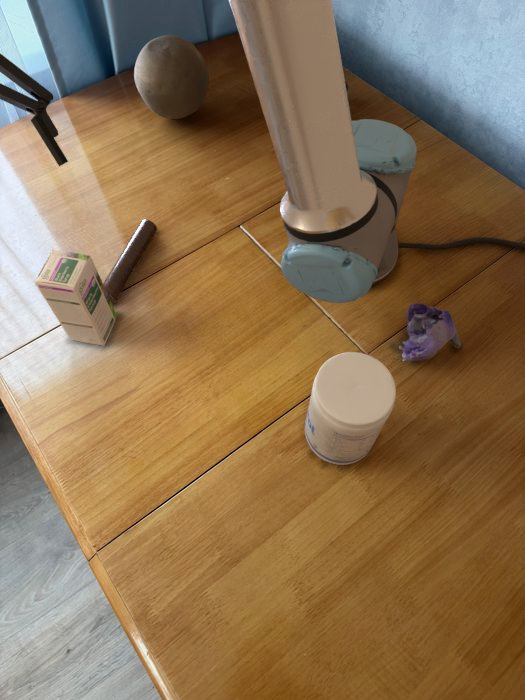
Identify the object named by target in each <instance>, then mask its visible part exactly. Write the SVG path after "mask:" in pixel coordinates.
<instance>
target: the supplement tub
mask: <svg viewBox="0 0 525 700" xmlns="http://www.w3.org/2000/svg"><path fill="white" fill-rule="evenodd" d="M395 382H396V381H395V379H394V377H393V374H392V373H391V372H390V370H389V369H388V368H387V367H386V365H385V364H383V363H382V362H381V361H380V360H378V359H377V358H376V357H373V356H371V355H370V354H366V353H363V352H355V351H347V352H342V353H339V354H338V353H337V354H335V355H333V356H332V357H330V358H328V359H327V360H326V361H325V362H324V363H322V365H321V366H320V367H319V369H318V371H317V374H316V375H315V377H314V380H313V384H312V388H311V391H310V392H311V393H310V397H309V402H308V407H307V412H306V416H305V417H306V418H305V423H304V435H305V438H306V441H307V444H308V446H309V448H310V449H311V451H312V452H313V453H314V454H315V455H316V456H317V457H318V458H320V459H321V460H323V461H325V462H327V463H329V464H333V465H337V466H338V465H339V466H345V465H352V464H355V463H356V462H359V461H360V460H362V459H363V458H365V457H366V456H367V455H368V454H369V452H370V451H371V449H372V447H373V446H374V444H375V443H376V440H377V438H378V437H379V435H380V434H381V431H382V430H383V428H384V426H385V424H386V422H387V420H388V418H389V417H390V415H391V413H392V412H393V409H394V406H395V401H396V398H397V397H396V396H397V387H396V383H395Z"/></svg>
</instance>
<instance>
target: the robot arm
mask: <svg viewBox="0 0 525 700" xmlns="http://www.w3.org/2000/svg"><path fill="white" fill-rule="evenodd" d="M228 2H229V6H230V9H231V13H232V15H233V20H234V21H235V25H236V28H237V31H238V36H239V39H240V41H241V42H240V43H241V45H242V49H243V50H244V55H245V58H246V62H247V65H248V68H249V70H250V71H249V72H250V74H251V77H252V78H251V79H252V80H253V85H254V87H255V90H256V94H257V97H258V100H259V103H260V107H261V111H262V114H263V116H264V120H265V123H266V126H267V129H268V133H269V136H270V140H271V142H272V146H273V149H274V152H275V156H276V159H277V162H278V166H279V170H280V172H281V175H282V179H283V182H284V186H285V189H286V191H285V192H284V194H283V196H282V197H281V200H280V205H279V213H280V216H281V219H282V222H283V225H284V229H285V232H286V235H287V239H288V245H287V247H286V248H285V249H284V250H283V252H282V254H281V255H282V257H281V261H280V269H281V273H282V275H283V277H284V278H285V280H286V281H287V282H288V283H289V284H290V285H291V286H292V287H293V288H294V289H295V290H297V291H298V292H300V293H302V294H304V295H306V296H308V297H310V298H312V299H316V300H318V301H322V302H327V303H333V304H335V303H336V304H344V303H351V302H355V301H357V300H359V299H360V298H363V297H364V296H366V295H367V294H368V292H369V291H370V289H371V287H374V286H377V285H379V284H381V283H382V282H384V281H385V280H386V279H388V277H390V275H391V274H392V273H393V271H394V269H395V266H396V264H397V261H398V258H399V249H410V250H411V249H412V250H427V251H439V250H448V249H453V248H457V247H461V246H467V245H472V244H493V245H494V244H495V245H500V246H505V247H511V248H515V249H520V250H525V243H524V242H523V243H522V242H517V241H513V240H508V239H504V238H496V237H485V236H482V237H481V236H480V237H479V236H478V237H469V238H463V239H459V240H455V241H450V242H446V243H436V244H434V243H432V244H431V243H421V242H399V241H398V235H397V234H398V233H397V228H396V226H397V221H398V218H399V216H400V212H401V208H402V205H403V202H404V198H405V195H406V192H407V188H408V185H409V183H410V178H411V175H412V172H413V170H414V169H415V167H416V157H417V152H418V149H417V144H416V142H415V140H414V138H413V137H412V136H411V134H409V133H408V132H406V130H404V129H403V128H401V127H400V126H399V125H396V124H393V123H391V122H387V121H384V120H379V119H372V118H362V119H361V118H360V119H357V120H352V114H351V109H350V104H349V97H348V94H347V91H346V85H345V82H346V80H345V73H344V67H343V62H342V56H341V50H340V44H339V37H338V32H337V25H336V21H335V14H334V9H333V3H332V0H228ZM0 73H1V74H2V75H4V76H5V77H6V78H8V80H10V81H11V82H13V83H14V84H15V85H17V87H19V88H20V89H22V90H23V91H24V92H26V93H27V94H28V95H30V96H28V95H26V94H24V93H21V92H20V91H17V90H16V89H13V88H11V87H9V86H7V85H5V84H3V83H1V82H0V100H1V101H3V102H5V103H7V104H9V105H12V106H14V107H16V108H18V109H21V110H22V111H25V112H27V113H29V114H31V115H33V117H32V118H31V119H30V122H31V124H32V125H33V127H34V128H35V130H36V132H37V133H38V135H39V136H40V139H42V141H43V143H44V145H45V146H46V148H47V149H48V151H49V152H50V154H51V156H52V157H53V159H54V160H55V162H56V164H57V166H58V167H61V166H63V165H65V164H67V163H68V162H69V160H68V159H67V157H66V155H65V154H64V152H63V151H62V150H63V149H61V147H60V145H59V144H58V142H57V140H56V139H55V138H57V137H58V136H59V130H58V128H57V127H56V125H55V124H54V122H53V120H52V119H51V117H50V115H49V114H48V112H47V111H48V110H47V108H48V106H49V105H50V104H51V103H52V101H53V100H54V95H53V93H52V92H51V91H49V90H48V89H47V88H45V86H43V85H42V84H41V83H39V82H38V81H37V80H36V79H34V78H33V77H31V75H29V74H28V73H27V72H25V71H24V70H22V68H20V67H19V66H17V65H16V64H15V63H13V62H12V61H11V60H10V59H9V58H7V57H6V56H4V55H3V54H2V53H1V52H0Z"/></svg>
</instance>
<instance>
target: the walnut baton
mask: <svg viewBox="0 0 525 700" xmlns="http://www.w3.org/2000/svg"><path fill="white" fill-rule="evenodd" d="M157 232H158V226H157V225H156V223H155V222H153V221H152V220H150V219H142V220H141V221H140V223H139V224H138V226H137V228H136V229H135V231H134V232H133V234H132V236H131V237H130V239H129V240H128V242H127V244H126V246H125V247H124V248H123V251H122V252H121V254H120V255H119V257H118V259H117V260H116V262H115V263H114V265H113V267H112V269H111V270H110V272H109V273H108V275H107V277H106V278H105V280H104V281H103V282H102V283H103V285H104V287H105V289H106V292H107V294H108V296H109V299H110V301H111V303H112V305H113V304H115V303H116V302H117V301H118V299H119V297H120V295H121V294H122V292H123V290H124V289H125V287H126V285H127V283H128V282H129V280H130V278H131V277H132V275H133V273H134V272H135V271H136V270H135V269H136V267H138V264H139V263H140V261H141V259H142V257H143V256H144V254H145V252H146V251H147V249H148V247H149V245H150V243H151V242H152V240H153V238H154V237H155V235H156V233H157Z"/></svg>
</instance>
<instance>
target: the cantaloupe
mask: <svg viewBox="0 0 525 700" xmlns="http://www.w3.org/2000/svg"><path fill="white" fill-rule="evenodd" d="M133 77H134V83H135V86H136V88H137V91H138V93H139V94H140V97H141V99H142V101H143V102H144V104H145V105H146V106H147V108H148V109H149V110H150V111H151V112H153V113H155V114H156V115H157V116H159V117H161V118H165V119H171V120H179V119H180V120H181V119H183V118H186V117H188V116H190V115H192V114H193V113H195V112H196V111H198V110H199V108H200V107H201V106H202V105H203V103H204V101H205V99H206V97H207V93H208V89H209V83H210V73H209V69H208V66H207V64H206V59H205V58H204V57H203V55H202V54H201V52H200V51H199V49H197V48H196V46H195V45H194V44H193V43H192V42H191V41H189V40H187V39H184V38H182V37H180V36H178V35H173V34H165V35H162V36H158V37H156V38H153V39H151V40H150V41H148V42H147V43H146V44H145V45H144V46H143V48H142V49H141V50H140V52H139V54H138V56H137V57H136V61H135V65H134V71H133Z"/></svg>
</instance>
